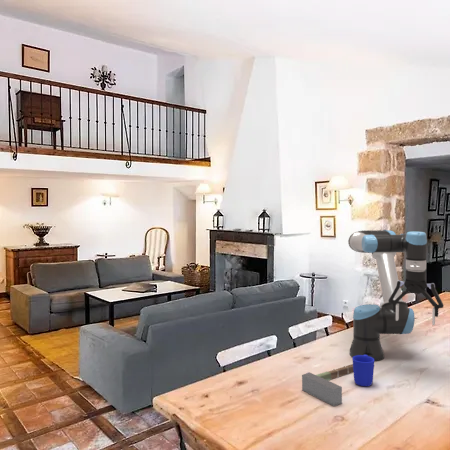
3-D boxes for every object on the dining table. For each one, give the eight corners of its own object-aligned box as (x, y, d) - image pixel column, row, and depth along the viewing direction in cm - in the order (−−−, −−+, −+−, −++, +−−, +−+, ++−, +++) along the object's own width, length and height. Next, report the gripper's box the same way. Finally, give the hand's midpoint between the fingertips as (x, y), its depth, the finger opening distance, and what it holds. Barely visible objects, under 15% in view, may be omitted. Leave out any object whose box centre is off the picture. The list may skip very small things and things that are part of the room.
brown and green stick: (305, 384, 167) (305, 377, 167) (356, 368, 183) (356, 362, 183) (309, 386, 165) (309, 379, 165) (361, 369, 182) (361, 363, 181)
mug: (376, 377, 173) (376, 353, 173) (373, 389, 162) (373, 363, 162) (355, 374, 176) (355, 350, 176) (350, 386, 166) (350, 360, 165)
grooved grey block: (302, 390, 162) (302, 374, 162) (311, 387, 165) (310, 372, 164) (333, 406, 149) (333, 389, 149) (343, 403, 151) (342, 386, 151)
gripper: (381, 269, 175) (381, 320, 176) (450, 274, 162) (449, 329, 163) (384, 266, 181) (384, 315, 183) (451, 271, 168) (450, 323, 170)
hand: (415, 322), depth 173 cm, fingers open, 13 cm apart
